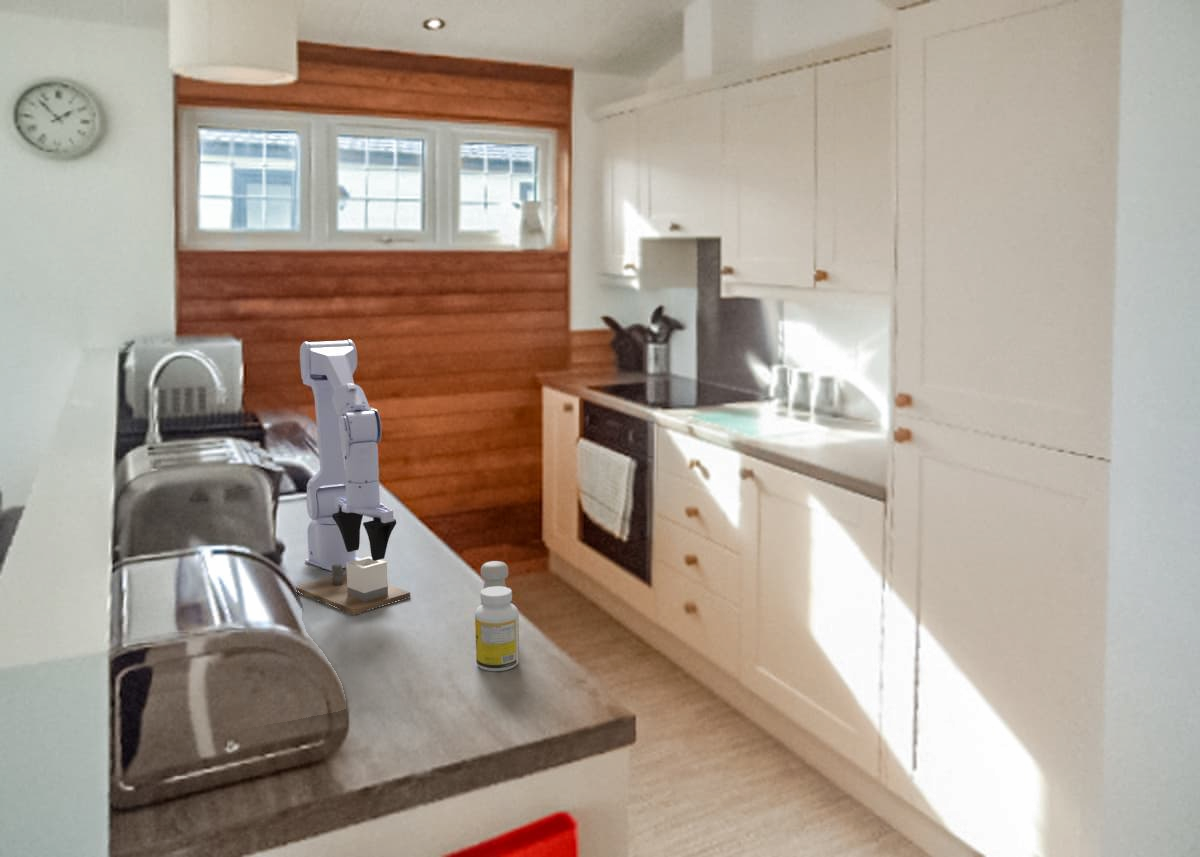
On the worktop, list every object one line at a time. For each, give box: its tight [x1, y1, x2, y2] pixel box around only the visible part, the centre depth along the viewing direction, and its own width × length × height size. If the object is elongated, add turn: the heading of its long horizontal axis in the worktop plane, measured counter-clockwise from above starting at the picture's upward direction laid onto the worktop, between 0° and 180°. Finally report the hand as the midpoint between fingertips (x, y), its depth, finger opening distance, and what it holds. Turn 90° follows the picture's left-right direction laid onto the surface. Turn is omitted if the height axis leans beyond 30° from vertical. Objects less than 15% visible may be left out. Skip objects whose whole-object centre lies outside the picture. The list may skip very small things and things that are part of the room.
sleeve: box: [346, 555, 389, 601], centre depth 190 cm, size 5×5×6 cm
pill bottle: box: [474, 586, 520, 672], centre depth 161 cm, size 6×6×12 cm
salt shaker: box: [480, 560, 509, 605], centre depth 170 cm, size 6×6×13 cm
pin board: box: [295, 564, 411, 616], centre depth 193 cm, size 18×12×4 cm, turn 48°
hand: (365, 554), depth 189 cm, fingers open, 7 cm apart
